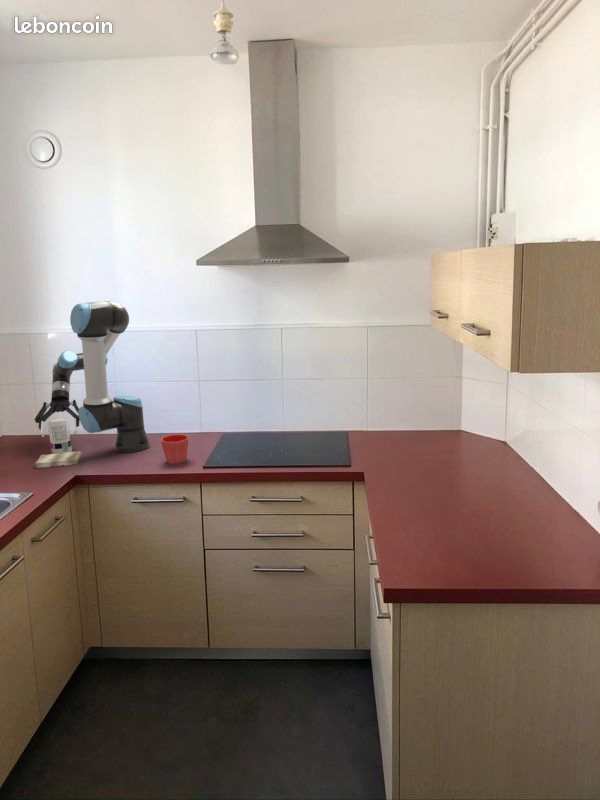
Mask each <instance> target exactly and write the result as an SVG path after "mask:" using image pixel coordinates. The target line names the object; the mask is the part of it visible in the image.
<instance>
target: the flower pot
mask: <svg viewBox="0 0 600 800" xmlns="http://www.w3.org/2000/svg"><path fill="white" fill-rule="evenodd" d="M160 443H161V446H162V450H163V453H164V456H165V459H166V462H167V463H168V464H173V465H175V464H181V463H184V462H186V461H187V458H188V457H187V455H188V446H189V436H188V435H184V434H170V435H167V436H163V437H161V439H160Z"/></svg>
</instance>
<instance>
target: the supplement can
mask: <svg viewBox="0 0 600 800" xmlns="http://www.w3.org/2000/svg"><path fill="white" fill-rule="evenodd" d="M47 426H48V435H49V441H50V442H49V443H50V449H51V454H57V453H67V452H73V450H72V441H71V440H72V439H71V433H70V425H69V421H68V419H67V417H56V418H52V419H49V421H48V424H47Z"/></svg>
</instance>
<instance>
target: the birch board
mask: <svg viewBox="0 0 600 800" xmlns="http://www.w3.org/2000/svg"><path fill="white" fill-rule="evenodd" d="M80 457H82V451H71V452H67V453H57V454H52V453H49V454H41V455H40V456H39V457H38V459H37V460H36V462H35V464H34V465H35V469H42V468H43V469H44V468H52V467H51V466H53V467H60V466H61V467H62V465H64V466H72V465H73V464H74V465H78V464H79V461H80V460H81V458H80ZM79 459H80V460H79ZM77 463H78V464H77Z"/></svg>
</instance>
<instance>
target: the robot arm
mask: <svg viewBox="0 0 600 800" xmlns="http://www.w3.org/2000/svg"><path fill="white" fill-rule="evenodd" d="M69 320H70V322H69V323H70V326H71V330H72V332H73V333H74V334H77V338H78V339H79V340H81V347H82V352H79V353H76V352H74V351H72V350H63V351H62V352H61V353H60V355H59V357H58V358H57V362H56V363H54V365H53V367H52V368H53V369H52V379H51V381H52V382H51V399H50V400H51V401H50V402H49V403H48V402H46V401H44V402H43V403H42V407H41V408H40V410H39V411H38V413H37V414H36V416H35V417H34V421H35V423H36V424H38V430H40V436H41V437H42V438H45V427H46V425H45V422H46V421H47V420H48V419H49V418H50V417H51V416H52V415H53V414H55V413H63V412H67V413H68V414H69V415H70V416H72V417H73V433H74V435H77V434H78V433H77V431H78V430H77V429H78V428H77V427H80V424H81V426H82V427H83V429H84V431H85V432H87V433H89V434H94V433H101V432H106V431H110V430H114V429H116V436H115V441H114V450H115V452H117V453H135V452H141V451H143V450H144V451H145V450H147V449H149V448H150V447H151V442H150V438H149V437H148V434H147V432H146V429H145V422H144V411H143V410H144V409H143V408H144V407H143V404H142V403H143V401H142V400H141V398H140V397H138V396H135V395H116V396H113V399H112V397H110V396H109V392H108V381H107V380H108V376H107V364H108V360H109V359H108V353H109V352H110V350H111V349H112V347H113V345H114V344H115V342H116V341H117V339H118V337H120V334H121V335H122V334H123V333H124V332H125V331H126V330H127V328H128V326H129V323H130V316H129V313H128V311H127V309H126V307H124V305H123V304H122V303H119V302H117V301H115V300H107V301H105V300H104V301H93V302H92V301H91V302H90V301H89V302H87V301H86V302H85V301H84V302H83V303H76V304H75V305H74V306H73V307H72V309H71V312H70V319H69ZM77 371H84V372H83V373H84V383H85V395H86V396H85V398H84V399H83V400H82V404H83V405H82V406H81V407H79V406H78V405H77V401H76V399H73V400H70V389H71V386H70V383H71V376H72V374H73V372H77ZM70 406H71V407H74V410H75V411H73V409H71V408H70ZM75 412H76V413H77V414H76V413H75Z"/></svg>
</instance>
